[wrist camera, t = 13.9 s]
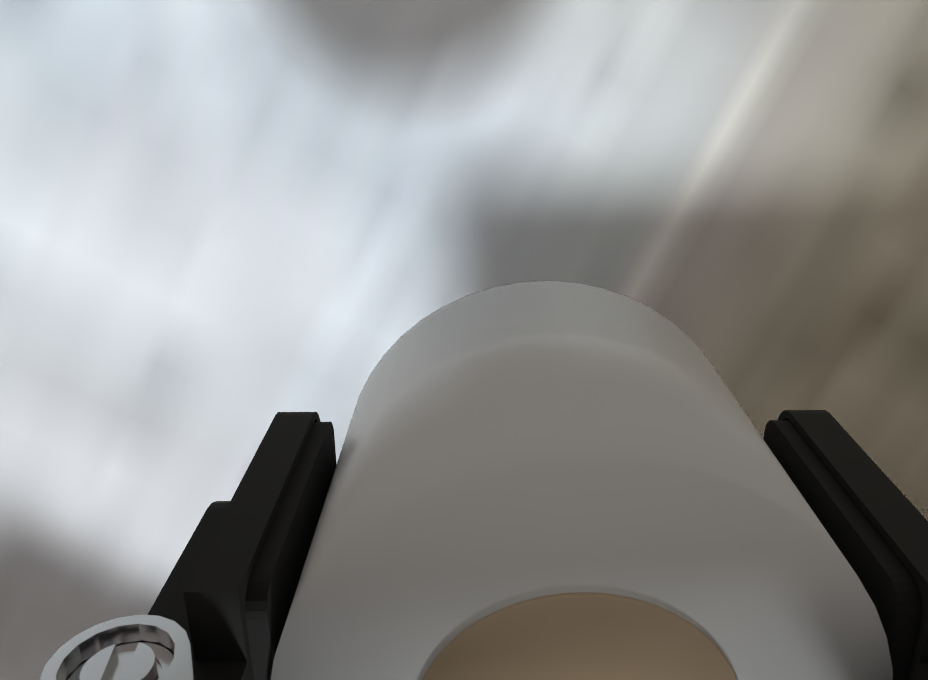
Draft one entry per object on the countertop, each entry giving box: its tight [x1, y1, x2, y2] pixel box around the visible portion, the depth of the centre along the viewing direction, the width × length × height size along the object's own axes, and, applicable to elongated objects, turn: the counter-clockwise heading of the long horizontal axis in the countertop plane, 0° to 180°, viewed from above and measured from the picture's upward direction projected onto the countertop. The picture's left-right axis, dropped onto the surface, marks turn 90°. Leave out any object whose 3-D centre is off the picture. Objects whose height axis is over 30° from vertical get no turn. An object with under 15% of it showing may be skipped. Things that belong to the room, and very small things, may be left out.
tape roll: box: [271, 281, 893, 680], centre depth 10 cm, size 6×6×5 cm
